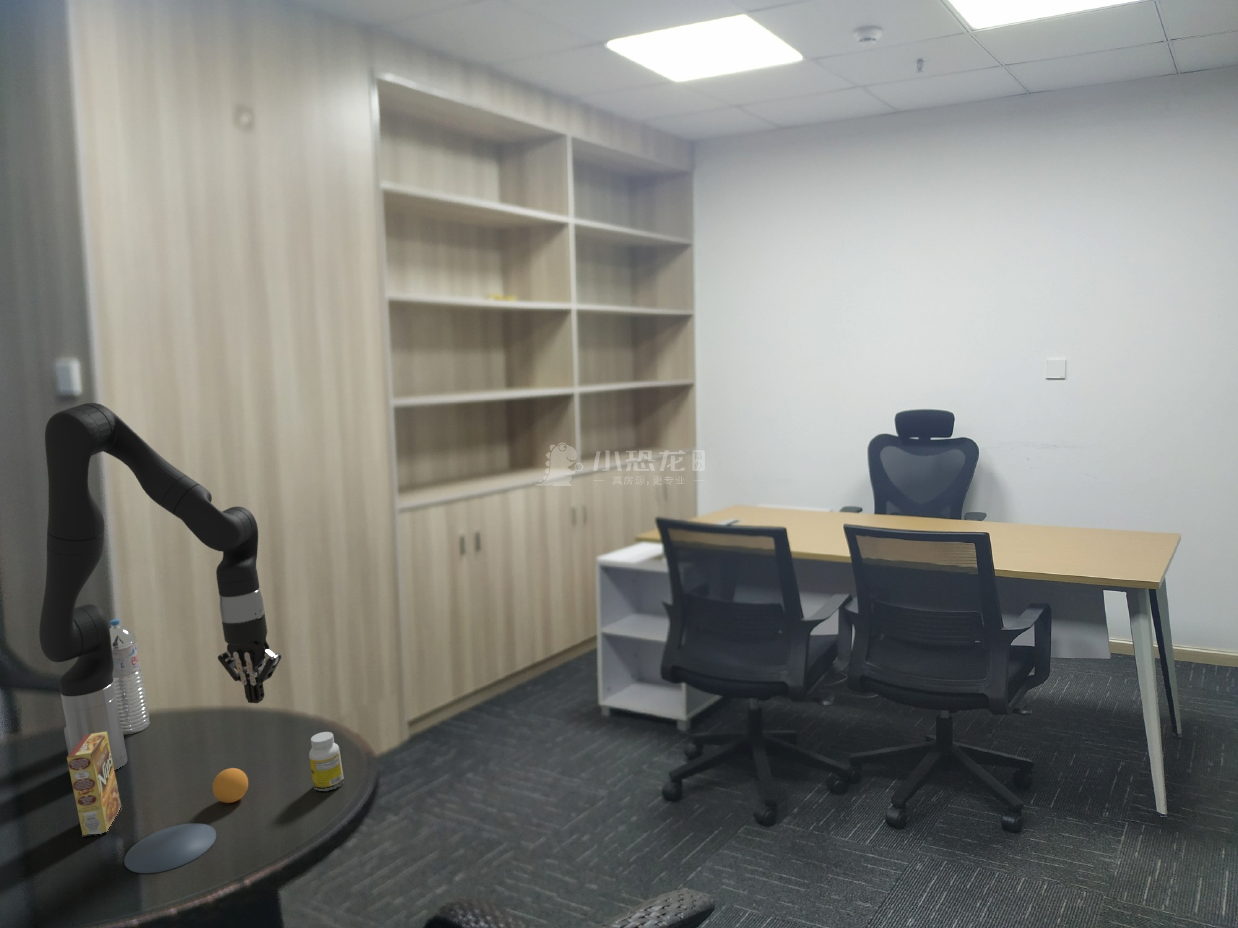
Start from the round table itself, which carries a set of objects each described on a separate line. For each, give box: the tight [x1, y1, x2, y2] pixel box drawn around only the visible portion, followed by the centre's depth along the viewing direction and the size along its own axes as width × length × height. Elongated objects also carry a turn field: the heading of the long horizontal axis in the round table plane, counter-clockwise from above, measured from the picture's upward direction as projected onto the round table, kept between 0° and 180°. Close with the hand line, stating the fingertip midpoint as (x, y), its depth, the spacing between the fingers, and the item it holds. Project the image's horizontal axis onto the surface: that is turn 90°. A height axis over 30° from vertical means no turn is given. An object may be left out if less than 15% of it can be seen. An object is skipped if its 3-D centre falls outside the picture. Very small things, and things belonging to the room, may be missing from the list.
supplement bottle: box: [308, 731, 345, 789], centre depth 170 cm, size 5×5×10 cm
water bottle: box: [109, 618, 151, 736], centre depth 201 cm, size 7×7×25 cm
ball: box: [212, 767, 249, 804], centre depth 168 cm, size 6×6×6 cm
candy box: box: [66, 732, 122, 836], centre depth 163 cm, size 9×4×15 cm, turn 13°
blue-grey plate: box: [123, 822, 217, 874], centre depth 154 cm, size 14×14×1 cm
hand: (256, 701), depth 175 cm, fingers closed
